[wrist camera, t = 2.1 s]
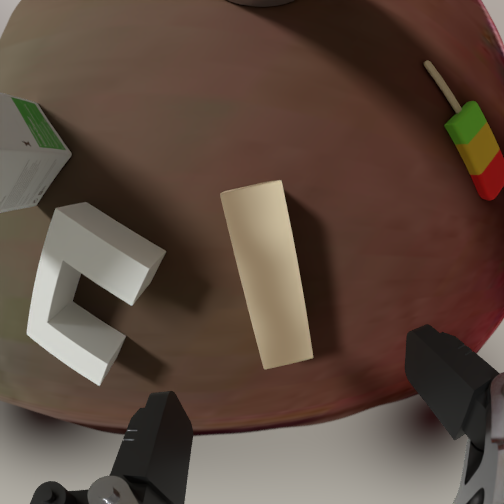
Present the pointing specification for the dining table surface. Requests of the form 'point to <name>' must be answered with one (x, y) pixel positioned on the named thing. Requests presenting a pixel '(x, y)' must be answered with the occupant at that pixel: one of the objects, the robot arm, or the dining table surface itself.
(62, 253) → the end cap
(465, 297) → the dining table surface
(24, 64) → the dining table surface
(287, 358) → the beige wooden block
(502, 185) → the popsicle
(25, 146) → the skincare box
